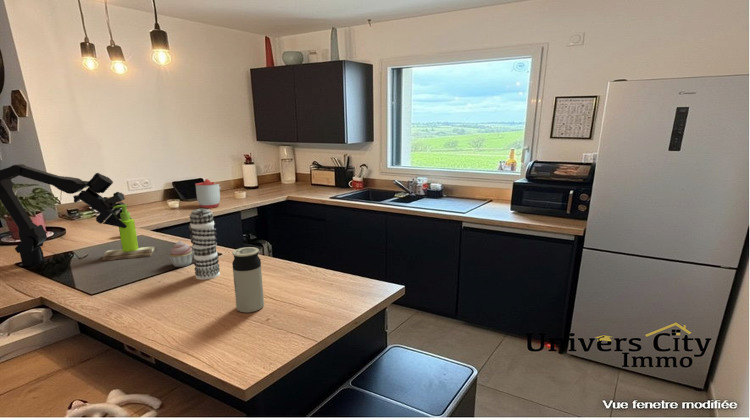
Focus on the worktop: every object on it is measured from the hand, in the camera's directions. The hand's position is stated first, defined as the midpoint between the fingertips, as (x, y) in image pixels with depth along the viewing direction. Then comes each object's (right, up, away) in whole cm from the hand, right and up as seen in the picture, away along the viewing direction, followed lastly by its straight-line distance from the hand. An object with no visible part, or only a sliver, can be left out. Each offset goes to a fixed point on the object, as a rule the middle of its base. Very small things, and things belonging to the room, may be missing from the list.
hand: (129, 224), depth 163 cm
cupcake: (+28, -16, -10) cm, 34 cm away
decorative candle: (+43, -18, -22) cm, 52 cm away
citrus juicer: (-11, +8, +106) cm, 107 cm away
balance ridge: (-1, -13, +2) cm, 14 cm away
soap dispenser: (-1, -11, +2) cm, 11 cm away
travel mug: (+68, -24, -48) cm, 86 cm away
